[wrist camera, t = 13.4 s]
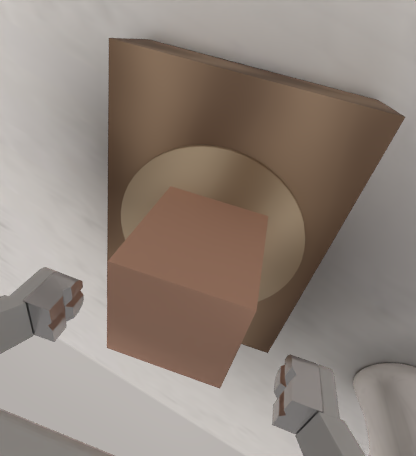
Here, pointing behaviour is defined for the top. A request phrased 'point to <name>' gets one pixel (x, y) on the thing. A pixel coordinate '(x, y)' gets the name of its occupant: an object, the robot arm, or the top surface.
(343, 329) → the top surface
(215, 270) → the terracotta block
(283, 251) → the block
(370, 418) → the beer glass
